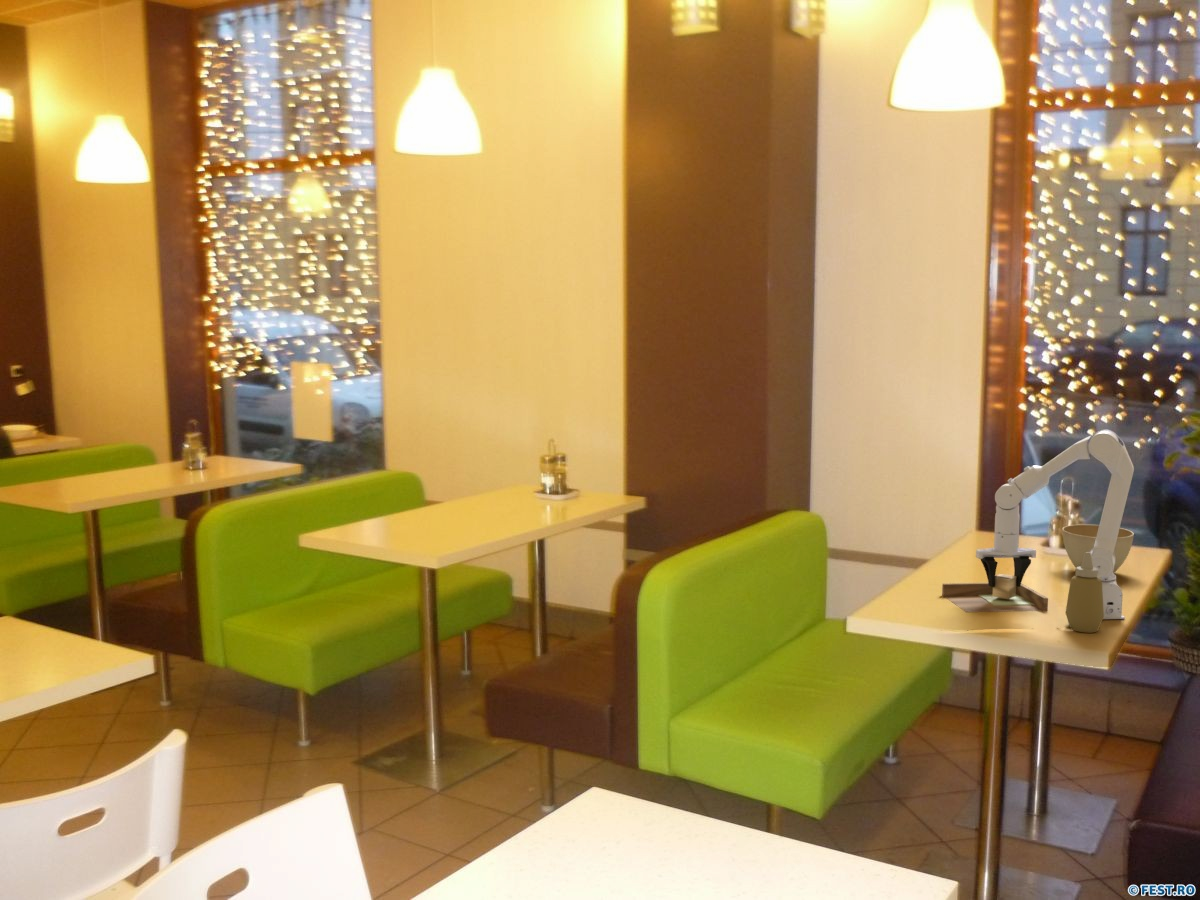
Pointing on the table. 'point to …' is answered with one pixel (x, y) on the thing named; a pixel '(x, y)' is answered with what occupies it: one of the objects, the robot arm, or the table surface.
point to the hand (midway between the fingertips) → (1004, 586)
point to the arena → (992, 598)
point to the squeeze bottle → (1085, 598)
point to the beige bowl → (1084, 538)
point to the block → (1004, 586)
